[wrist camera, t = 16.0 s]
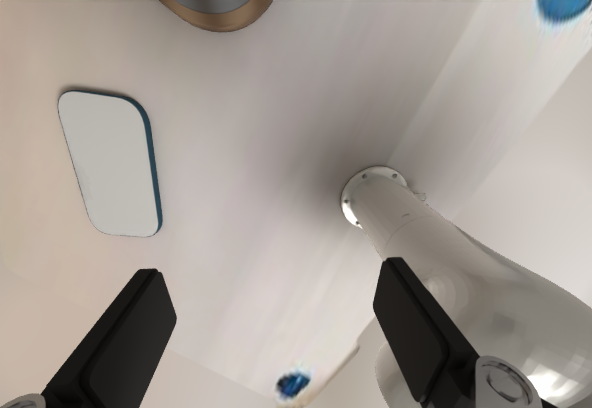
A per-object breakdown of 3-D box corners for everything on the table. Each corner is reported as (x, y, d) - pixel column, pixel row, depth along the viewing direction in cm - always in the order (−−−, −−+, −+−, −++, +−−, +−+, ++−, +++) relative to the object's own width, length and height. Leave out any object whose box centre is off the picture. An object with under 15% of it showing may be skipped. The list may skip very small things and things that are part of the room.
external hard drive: (166, 233, 43) (161, 239, 41) (100, 228, 41) (92, 234, 40) (149, 99, 33) (142, 99, 31) (61, 86, 31) (48, 86, 30)
